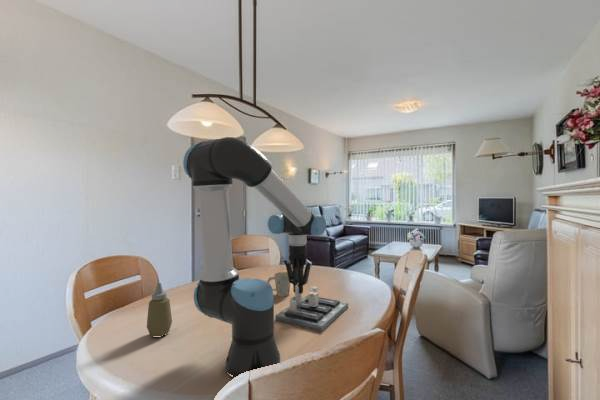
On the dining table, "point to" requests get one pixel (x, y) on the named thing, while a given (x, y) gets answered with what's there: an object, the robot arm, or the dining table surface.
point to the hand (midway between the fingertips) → (298, 300)
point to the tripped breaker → (313, 299)
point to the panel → (312, 312)
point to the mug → (281, 283)
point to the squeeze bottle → (159, 313)
